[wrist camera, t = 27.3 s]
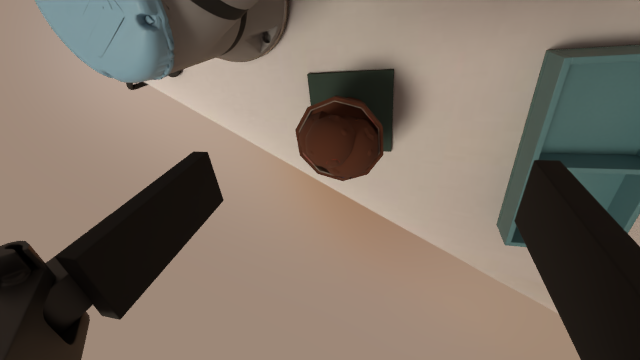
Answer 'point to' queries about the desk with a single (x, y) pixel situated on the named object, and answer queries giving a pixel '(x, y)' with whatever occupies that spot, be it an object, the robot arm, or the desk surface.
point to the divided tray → (583, 130)
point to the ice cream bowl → (340, 138)
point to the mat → (359, 93)
